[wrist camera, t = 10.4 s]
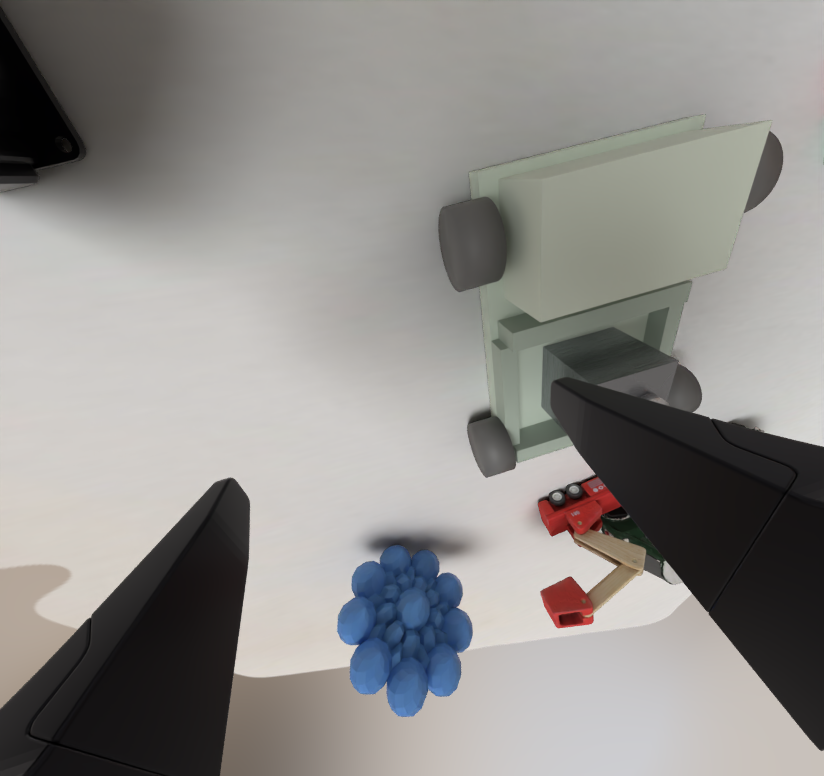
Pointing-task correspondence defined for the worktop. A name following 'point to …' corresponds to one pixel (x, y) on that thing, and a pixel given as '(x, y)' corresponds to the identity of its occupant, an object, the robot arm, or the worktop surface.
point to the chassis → (596, 256)
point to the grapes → (405, 628)
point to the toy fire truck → (583, 523)
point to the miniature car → (640, 540)
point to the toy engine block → (609, 366)
